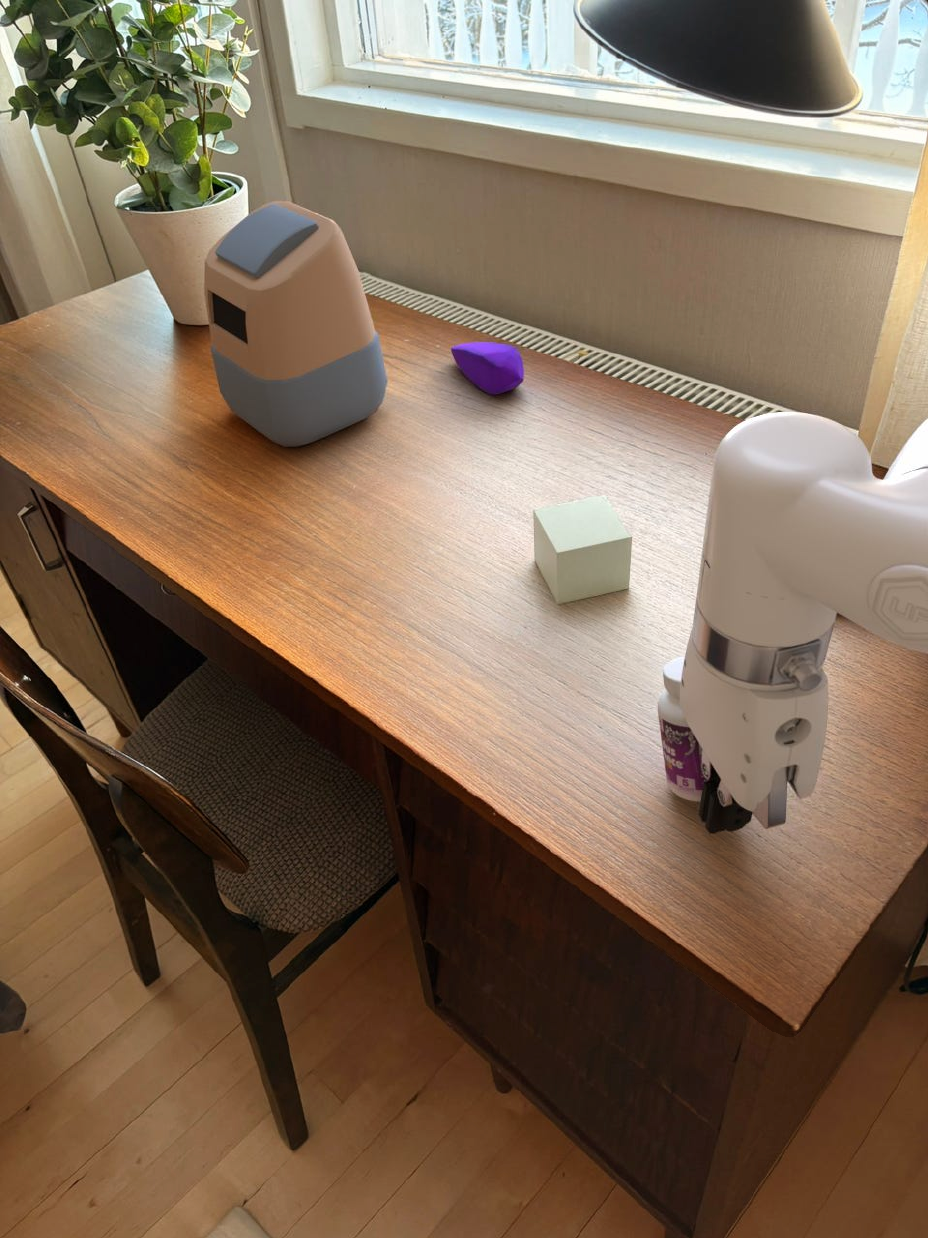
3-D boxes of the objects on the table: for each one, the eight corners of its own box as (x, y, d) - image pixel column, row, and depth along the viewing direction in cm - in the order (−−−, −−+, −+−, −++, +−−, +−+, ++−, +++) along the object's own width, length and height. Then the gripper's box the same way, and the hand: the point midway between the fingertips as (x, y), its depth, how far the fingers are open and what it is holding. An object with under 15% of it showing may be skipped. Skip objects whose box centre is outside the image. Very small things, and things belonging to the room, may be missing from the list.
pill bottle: (652, 780, 71) (637, 666, 67) (710, 754, 72) (699, 642, 68) (696, 814, 66) (682, 694, 62) (757, 786, 67) (747, 667, 64)
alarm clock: (216, 414, 117) (164, 224, 102) (329, 368, 125) (295, 184, 109) (285, 466, 107) (237, 264, 92) (403, 412, 114) (377, 216, 99)
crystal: (464, 325, 123) (536, 352, 112) (469, 361, 125) (539, 391, 115) (434, 336, 121) (503, 365, 110) (439, 372, 124) (508, 404, 113)
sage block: (629, 588, 87) (632, 536, 83) (557, 604, 86) (557, 552, 82) (602, 545, 92) (604, 494, 88) (534, 559, 91) (532, 509, 87)
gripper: (898, 702, 49) (831, 896, 61) (756, 538, 60) (723, 730, 72) (765, 737, 48) (724, 928, 60) (646, 564, 59) (631, 755, 71)
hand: (724, 820), depth 66 cm, fingers closed
